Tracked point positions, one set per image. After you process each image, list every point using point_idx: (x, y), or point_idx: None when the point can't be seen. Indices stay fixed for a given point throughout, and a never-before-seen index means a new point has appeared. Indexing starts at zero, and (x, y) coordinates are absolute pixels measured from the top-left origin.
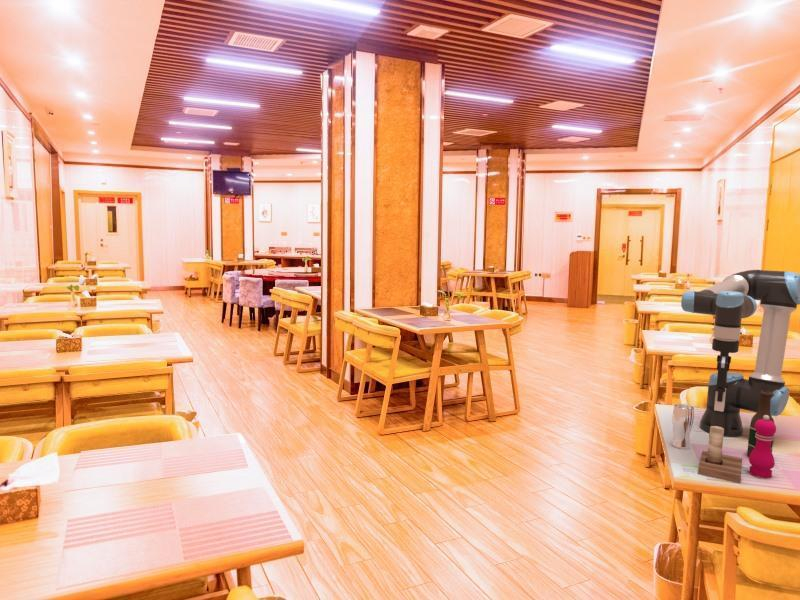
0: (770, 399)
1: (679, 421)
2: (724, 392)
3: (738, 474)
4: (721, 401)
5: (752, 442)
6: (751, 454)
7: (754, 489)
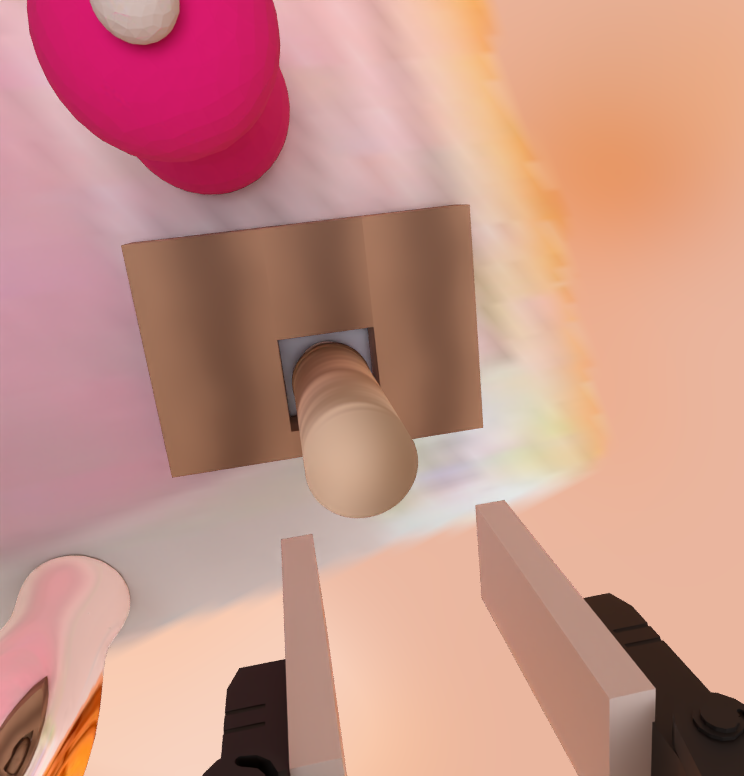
0: None
1: (92, 735)
2: (648, 695)
3: (461, 220)
4: (613, 604)
5: None
6: (238, 175)
7: (497, 123)
